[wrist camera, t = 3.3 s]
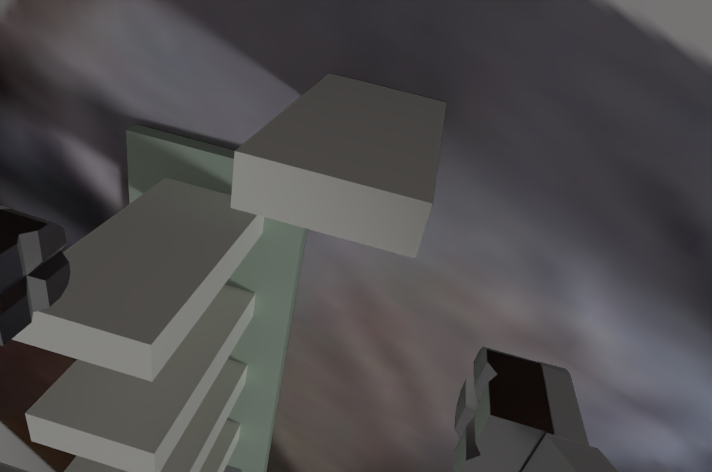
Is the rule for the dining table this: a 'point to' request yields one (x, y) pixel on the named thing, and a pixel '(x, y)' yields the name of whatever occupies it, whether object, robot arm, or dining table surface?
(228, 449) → the domino
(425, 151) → the domino
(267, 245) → the domino board
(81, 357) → the domino
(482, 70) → the dining table surface
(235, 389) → the domino
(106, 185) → the dining table surface
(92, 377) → the domino
